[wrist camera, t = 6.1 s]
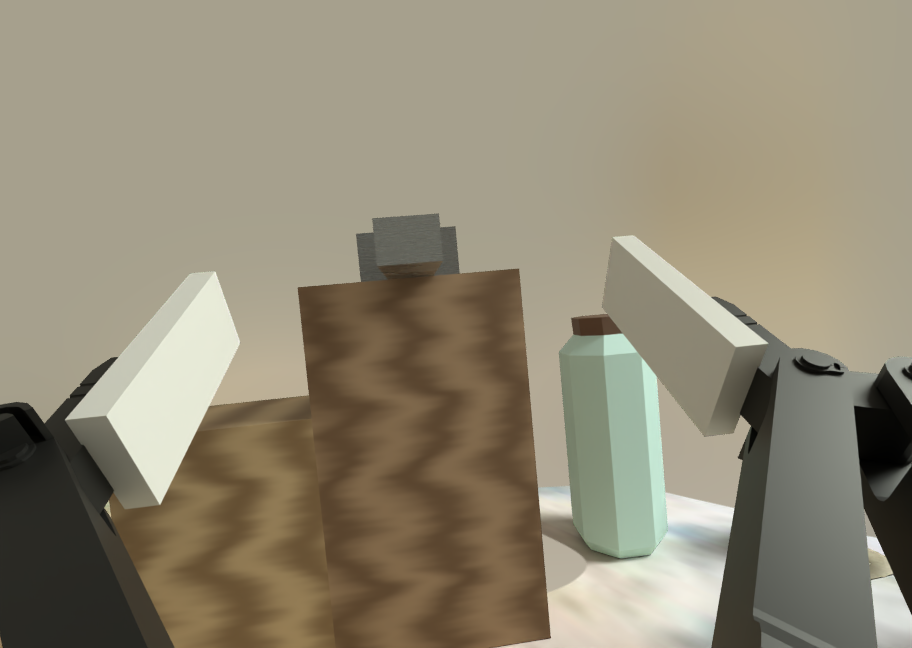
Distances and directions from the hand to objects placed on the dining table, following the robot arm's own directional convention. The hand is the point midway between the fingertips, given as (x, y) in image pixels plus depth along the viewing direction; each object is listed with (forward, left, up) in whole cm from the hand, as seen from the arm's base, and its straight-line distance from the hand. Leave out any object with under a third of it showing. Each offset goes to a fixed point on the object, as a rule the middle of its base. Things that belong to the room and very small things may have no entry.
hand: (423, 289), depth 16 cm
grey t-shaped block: (0, +19, +2) cm, 19 cm away
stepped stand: (-8, +25, -28) cm, 39 cm away
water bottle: (+20, +33, -28) cm, 48 cm away
